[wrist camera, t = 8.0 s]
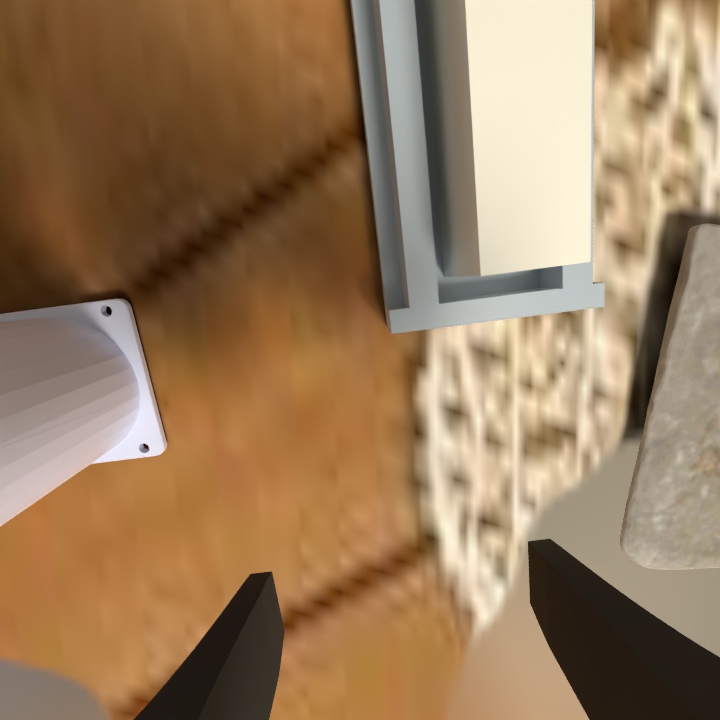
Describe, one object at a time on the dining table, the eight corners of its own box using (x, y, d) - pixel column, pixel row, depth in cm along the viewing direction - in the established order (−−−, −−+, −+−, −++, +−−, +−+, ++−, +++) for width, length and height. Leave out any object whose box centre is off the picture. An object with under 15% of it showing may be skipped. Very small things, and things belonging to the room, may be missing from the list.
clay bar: (521, 267, 17) (590, 261, 12) (444, 277, 17) (481, 276, 12) (511, -56, 14) (593, -234, 9) (419, -42, 14) (453, -212, 9)
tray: (387, 326, 18) (392, 335, 15) (342, -70, 15) (338, -156, 12) (570, 302, 18) (612, 307, 15) (568, -104, 15) (621, -200, 12)
